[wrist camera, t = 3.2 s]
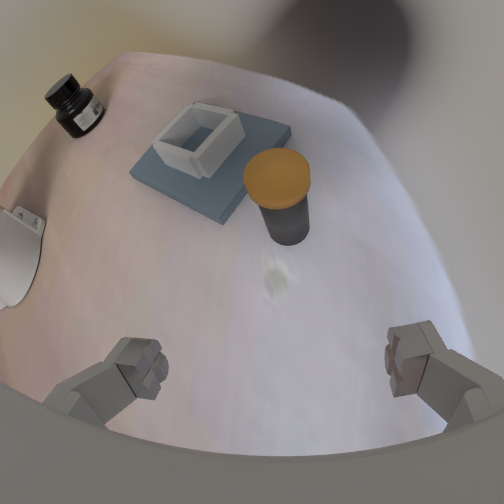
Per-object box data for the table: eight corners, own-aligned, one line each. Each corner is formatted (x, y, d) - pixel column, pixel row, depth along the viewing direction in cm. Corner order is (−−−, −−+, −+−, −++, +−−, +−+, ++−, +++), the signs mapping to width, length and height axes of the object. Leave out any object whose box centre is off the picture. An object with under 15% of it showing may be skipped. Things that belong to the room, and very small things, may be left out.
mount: (134, 178, 35) (114, 156, 30) (197, 109, 38) (185, 85, 33) (223, 225, 29) (205, 199, 24) (291, 134, 32) (285, 103, 27)
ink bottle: (95, 133, 43) (60, 91, 33) (66, 146, 45) (32, 110, 34) (112, 102, 47) (83, 62, 36) (83, 115, 49) (55, 80, 38)
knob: (255, 235, 28) (230, 185, 20) (280, 198, 29) (265, 140, 21) (297, 258, 26) (287, 211, 18) (322, 217, 27) (321, 160, 19)
